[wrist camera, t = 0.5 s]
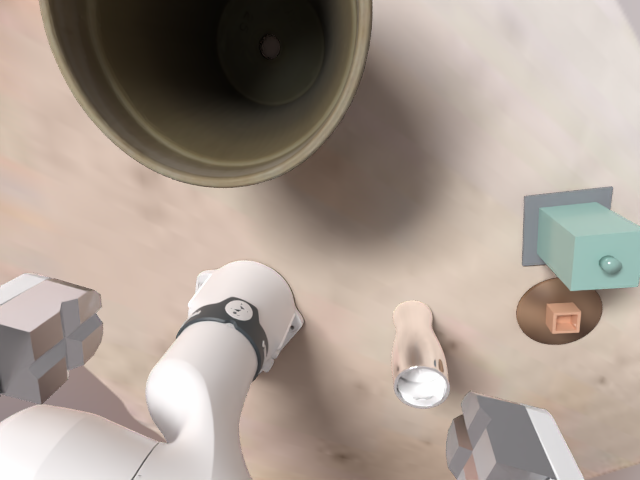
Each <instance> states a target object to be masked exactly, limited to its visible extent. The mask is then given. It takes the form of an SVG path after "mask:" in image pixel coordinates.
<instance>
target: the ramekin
mask: <svg viewBox="0 0 640 480" xmlns="http://www.w3.org/2000/svg"><path fill="white" fill-rule="evenodd" d="M580 320H581V311H580V310H579V309H578V307H577V306H576V305H575V304H574V303H573V302H570V303H552V304H547V307H546V323H545V324H546V325H547V327H548V328H549V330H550V331H551V333H552V334H557V333H579V330H580Z"/></svg>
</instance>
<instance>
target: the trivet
mask: <svg viewBox="0 0 640 480" xmlns="http://www.w3.org/2000/svg"><path fill="white" fill-rule="evenodd" d="M570 302H573V303H574V304H575V305H576V306H577V307H578V309H579V310H580V311H581V320H580V330H579V333H557V334H552V333H551V331H550V330H549V328H548V327H547V325H546V324H545V323H546V307H547V304H552V303H570ZM601 314H602V302H601V299H600V296H599V295H598V293H597V292H596V291H595V290H579V291H570V290H569V289H568V288H567V286H566V285H565V284H564V283H563V282H562V281H561V280H560V279H559V278H553V279H549V280H545V281H543V282H540V283H538V284H536V285H535V286H533V287H532V288H530V289H529V290H528V291H527V292H526V293H525V294H524V295H523V296H522V298H521V299H520V301H519V303H518V306H517V311H516V316H517V321H518V324H519V326H520V327H521V329H522V330H523V332H524V333H525V334H526V335H527V336H528V337H530V338H531V339H533V340H535V341H538V342H541V343H545V344H565V343H569V342H573V341H575V340H578V339H580V338H582V337H583V336H585V335H586V334H588V333H589V332H590V331H591V330H593V328H594V327H595V326H596V325H597V323H598V322H599V320H600V317H601Z"/></svg>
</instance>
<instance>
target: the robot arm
mask: <svg viewBox="0 0 640 480" xmlns="http://www.w3.org/2000/svg"><path fill="white" fill-rule="evenodd" d="M101 307H102V303H101V294H99V293H98V292H96V291H95V290H92V289H89V288H85V287H82V286H78V285H75V284H72V283H68V282H65V281H61V280H58V279H55V278H54V279H53V278H50V277H46V276H43V275H39V274H36V273H25V274H22V275H20V276H18V277H17V278H15V279H13V280H11V281H9V282H7V283H5V284H3V285H1V286H0V394H2V395H6V396H10V397H14V398H18V399H21V400H26V401H29V402H33V403H37V404H39V405H35V406H32V407H29V408H26V409H24V410H22V411H20V412H17V413H15V414H13V415H12V416H10V417H8V418H6V419H5V420H3V421H2V422H0V480H252V478H251V475H250V473H249V471H248V469H247V466H246V463H245V460H244V457H243V453H242V449H241V444H240V436H239V422H240V416H241V412H242V408H243V405H244V402H245V399H246V396H247V393H248V391H249V388H250V385H251V383H252V382H253V381H254V380H255V379H256V377H257V376H258V374H260V373H261V372H262V371H264V372H268V371H269V370H270V369H271V367H272V365H273V363H274V359H276V358H277V356H278V355H279V353H280V351H281V350H282V349H283V347H284V346H285V345H286V344H287V343H288V342H289V341H290V340H291V338H292V337H293V336H294V335H295V334H296V333H297V332H298V331H299V329H300V328H301V327H302V325H303V323H304V320H303V317H302V316H301V314H300V313H299V311H298V310H297V308H296V306H295V303H294V299H293V295H292V292H291V290H290V287H289V286H288V284H287V283H286V281H285V280H284V279H283V278H282V277H281V276H280V275H279V274H278V273H277V272H276V271H274V270H273V269H271V268H270V267H268V266H266V265H264V264H261V263H258V262H254V261H235V262H231V263H229V264H226V265H225V266H223V267H221V268H219V269H216V270H206V271H202V272H200V274H199V275H198V277H197V281H196V291H195V295H194V296H193V298H192V299H191V300H190V302H189V304H188V307H189V312H188V319H187V320H186V321H185V322H184V323H183V325H182V326H181V328H180V330H179V332H178V334H177V336H176V340H175V341H174V343H173V344H172V345H171V346H170V348H169V349H168V350H167V351H166V353H165V354H164V355H163V356H162V358H161V359H160V360H159V361H158V363H157V364H156V365H155V366H154V368H153V369H152V371H151V373H150V375H149V377H148V380H147V384H146V401H147V405H148V409H149V412H150V415H151V417H152V419H153V421H154V423H155V424H156V426H157V427H158V428H159V430H160V431H161V433H162V434H163V435H164V437H165V439H166V441H167V443H164V442H158V441H156V440H153V439H151V438H149V437H146V436H144V435H142V434H140V433H137V432H135V431H132V430H130V429H128V428H126V427H124V426H121V425H119V424H117V423H115V422H112V421H110V420H108V419H105V418H103V417H101V416H99V415H96V414H93V413H88V412H83V411H79V410H74V409H69V408H63V407H57V406H51V405H45V404H43V403H44V402H45V401H46V400H47V399H48V398H49V397H50V396H51V395H52V394H53V393H55V391H57V390H58V389H59V388H60V387H61V386H62V385H63V384H64V383H65V382H66V381H67V380H68V375H69V370H71V369H74V368H77V367H79V366H82V365H84V364H85V363H86V362H87V361H88V360H89V359H90V358H91V357H92V356H93V355H94V354H95V352H96V350H97V348H98V347H99V345H100V343H101V340H102V336H103V323H102V321H101V320H100V318H99V317H98V316H97V314H96V313H97V312H98V311H99V310H100V309H101ZM291 326H294V327H291ZM0 396H1V395H0ZM461 407H462V411H463V414H462V415H460V416H458V417H456V418H454V419H453V421H452V423H451V426H450V428H449V430H448V435H447V441H446V458H447V464H448V468H449V469H450V471H451V472H452V473H453V475H454V476H455V478H456V479H457V480H585V479H584V477H583V475H582V473H581V472H580V470H579V468H578V466H577V464H576V462H575V460H574V458H573V456H572V454H571V452H570V450H569V448H568V446H567V444H566V442H565V440H564V438H563V436H562V434H561V432H560V430H559V428H558V426H557V424H556V422H555V420H554V418H553V416H552V415H551V414H550V413H549V412H548V411H547V410H545V409H541V408H537V407H533V406H529V405H525V404H521V403H520V404H518V403H515V402H511V401H507V400H504V399H500V398H496V397H492V396H488V395H484V394H481V393H477V392H473V391H470V392H468V393H467V394H466V395H465V397H464V399H463V401H462V403H461Z"/></svg>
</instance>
